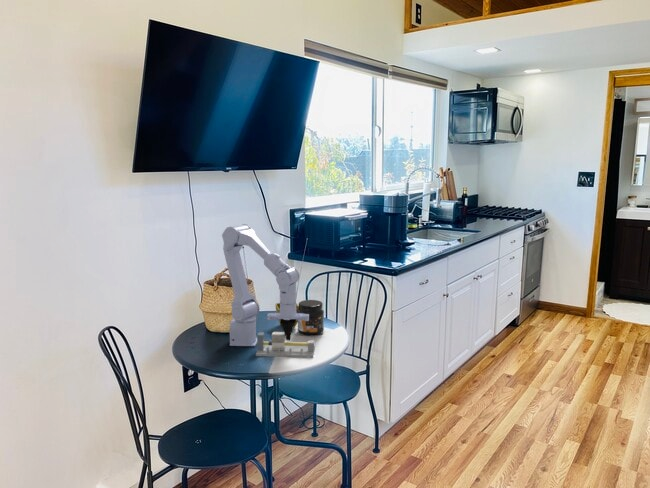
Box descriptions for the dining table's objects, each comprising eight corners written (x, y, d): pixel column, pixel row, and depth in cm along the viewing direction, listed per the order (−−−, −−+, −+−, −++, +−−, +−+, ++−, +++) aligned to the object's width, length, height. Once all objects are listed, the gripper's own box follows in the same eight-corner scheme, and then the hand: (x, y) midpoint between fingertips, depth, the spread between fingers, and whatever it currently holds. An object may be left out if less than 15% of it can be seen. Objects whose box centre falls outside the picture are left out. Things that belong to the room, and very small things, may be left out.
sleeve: (271, 350, 174) (271, 334, 173) (273, 346, 177) (273, 331, 176) (284, 350, 173) (284, 334, 173) (285, 347, 176) (285, 332, 175)
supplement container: (294, 335, 191) (293, 305, 189) (301, 326, 202) (301, 298, 200) (320, 337, 189) (320, 307, 187) (326, 328, 199) (326, 300, 197)
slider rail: (255, 356, 171) (255, 338, 170) (260, 346, 180) (260, 329, 179) (313, 357, 170) (313, 339, 169) (315, 347, 179) (315, 330, 178)
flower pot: (300, 329, 199) (300, 307, 197) (279, 331, 197) (278, 309, 195) (295, 322, 207) (295, 301, 206) (275, 324, 205) (275, 303, 203)
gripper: (265, 305, 169) (266, 343, 171) (307, 306, 168) (307, 344, 170) (269, 299, 175) (269, 336, 178) (309, 300, 175) (309, 336, 177)
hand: (288, 339), depth 174 cm, fingers closed
